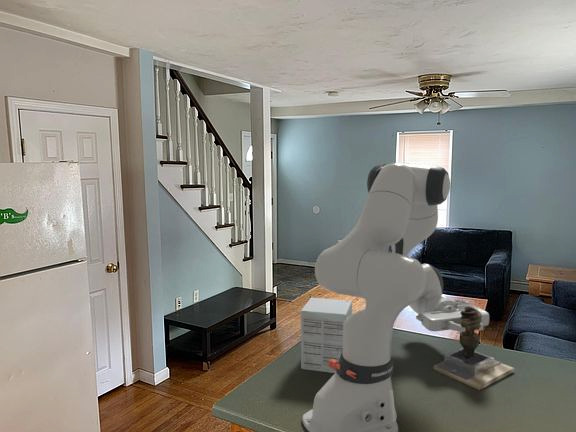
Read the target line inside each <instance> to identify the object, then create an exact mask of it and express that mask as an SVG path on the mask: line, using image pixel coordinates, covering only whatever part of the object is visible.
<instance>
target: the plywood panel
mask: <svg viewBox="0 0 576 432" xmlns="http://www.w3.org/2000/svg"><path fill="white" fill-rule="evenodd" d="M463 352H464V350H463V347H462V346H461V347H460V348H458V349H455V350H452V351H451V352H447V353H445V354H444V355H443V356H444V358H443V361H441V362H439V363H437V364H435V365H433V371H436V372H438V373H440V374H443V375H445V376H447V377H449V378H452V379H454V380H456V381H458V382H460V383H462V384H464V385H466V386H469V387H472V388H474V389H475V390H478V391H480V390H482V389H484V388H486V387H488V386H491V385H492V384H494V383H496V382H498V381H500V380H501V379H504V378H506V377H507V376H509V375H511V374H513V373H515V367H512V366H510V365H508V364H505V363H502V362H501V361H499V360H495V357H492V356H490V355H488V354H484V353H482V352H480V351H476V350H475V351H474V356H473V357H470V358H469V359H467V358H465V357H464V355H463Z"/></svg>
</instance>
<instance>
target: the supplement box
mask: <svg viewBox="0 0 576 432" xmlns="http://www.w3.org/2000/svg"><path fill="white" fill-rule="evenodd" d="M351 314H353V301H352V300H347V299H337V298H336V299H335V298H334V299H333V298H323V297H320V298H319V297H310V298H309V299H308V301H307V302H306V303H305V305H304V306H303V308H301V310H300V367H301V370H306V371H307V370H308V371H316V372H324V373H330V374H335V373H336V370H334V369H333V368H330V367H329V366H328V362H329V360H330V359H334V360H335V361H338V362H339V359H340V356H341V353H342V349H343V324H344V322H345V320H346V319H347V318H348V317H349V316H350V315H351Z"/></svg>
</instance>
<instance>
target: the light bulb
mask: <svg viewBox="0 0 576 432" xmlns="http://www.w3.org/2000/svg"><path fill="white" fill-rule="evenodd" d="M464 309H465V311H461V315H462V316H461V320H462V321H461V324H462V325H463V326H465V327H466V329H465V332H462V333H460V332H459V344H460V345H461V348H462V347H463V350H464V352H463V355H464V357H465V358H467V359H469V358H470V357H473V356H474V351H476V349H477V348H478V347H479V344H480V338H481V337H480V334H478V333H477V332H475V331H478V330H477V329H478V328H480V326H481V324H480V323H481V317H482V314H481V313H480V312H479V311H478V310H476V309H474V308H472V307H465V308H464Z"/></svg>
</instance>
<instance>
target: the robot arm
mask: <svg viewBox="0 0 576 432" xmlns="http://www.w3.org/2000/svg"><path fill="white" fill-rule="evenodd" d="M366 186H367V193H368V194H367V197H366V200H365V204H364V206H363V209H362V211H361V214H360V216H359V219H358V221H357V223H356V224H355V226H354V227H353V228H352V229H351V230H350V232H349V233H348V234H347V235H346V236H345V237H344V238H343V239H341V240H340V241H339V242H337V243H336V244H334V245H332V246H330V247H328V248H326V249H324V250H323V251H321V252H320V254H319V256H318V257H317V259H316V262H315V265H314V275H315V279H316V281H317V284H318V285H319V286H320V287H321V288H323V289H325V290H328V291H330V292H332V293H335V294H338V295H344V296H349V297H355V298H358V299H363V300H365V308H364V309H361V310H358V311H356V312H352V314H351V315H350V316H349V317H348V318H347V319H346V320H345V322H344V324H343V349H342V353H341V356H340V359H339V362H338V361H335V360H334V359H330V360H329V362H328V366H329V367H330V368H333V369H334V370H336V373H333V375H332V376H331V377H330V378H329V379H328V380H327V381H326V382H325V383H324V385H323V386H322V387H321V388H320V389H319V390H318V391H317V393H316V394H315V396H314V399H313V404H312V405H313V406H312V409H310V410H309V411H307V412H305V413H304V414H302V424H303V426H304V427H305V429H306V430H307V431H308V432H399V426H398V422H397V419H398V415H397V410H396V407H395V397H394V389H393V384H392V375H393V370H394V364H393V356H392V354H391V353H392V340H393V332H394V331H393V330H394V325H395V322H396V321H397V318H398V317H399V315H400V313H402V311H403V310H404V309H406V308H407V307H410V308H411V310H413V312H414V313H416V314H417V315H416V316H415V319H416V320H417V321H419V322H421V325H422V326H423V327H424V328H425V329H426V330H427V331H430V332H442V331H450V330H451V331H455V332H458V333H459V334H460V333H462V332H465V329H466V327H465V326H463V325H462V324H461V321H462V320H461V316H462V315H461V311H465V309H464V308H465V307H472V308H474V309H476V310H478V311H479V312H480V313H481V314H482V317H481V323H480V324H481V326H480V328H478V329H477V330H476V331H483V330H484V327H485V326H488V325H489V324H490V314H489V312H488V311H486V310H485V309H483V308H481V307H479V306H476V305H473V304H470V301H468V300H463V299H462V300H461V299H453V298H452V299H451V298H448V297H443V296H442V295H443V293H444V279H443V277H442V276H443V275H442V274H441V273H440V271H439V270H438V269H437V268H435V266H433V265H432V264H430V263H427V262H426V263H425V262H424V263H421V262H420V261H419V260H418V259H417V258H413V257H411V256H409V254H410V253H411V251H412V250H413V249H414V248H416V247H417V246H418V245H419V244H421V243H423V242H424V241H426V239H428V238H429V237H431V235H432V234H433V233H434V232H435V230H436V228H437V226H438V222H439V213H438V212H439V211H438V209H439V208H438V205H441V204H443V203H444V202H445V201H446V200H447V199H448V196H449V194H450V191H451V179H450V175H449V172H448V171H447V170H446V169H445V167H442V166H436V165H431V166H429V165H424V164H413V163H407V162H406V163H396V162H395V163H389V164H387V163H380V164H377V165H374V166H373V167H372V169H370V170H369V173H368V175H367V181H366ZM386 248H388V252H387V251H383V250H384V249H386Z"/></svg>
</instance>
